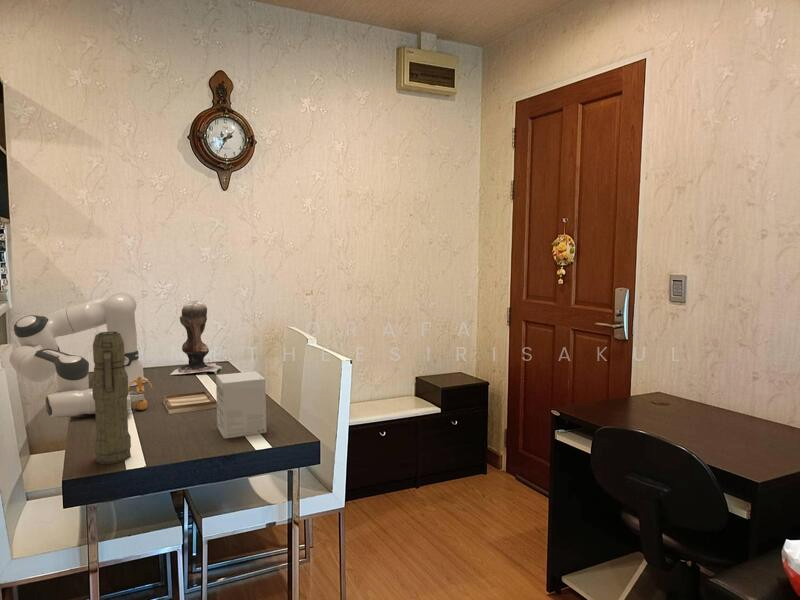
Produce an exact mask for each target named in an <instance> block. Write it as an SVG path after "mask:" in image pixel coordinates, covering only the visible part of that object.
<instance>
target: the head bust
mask: <svg viewBox="0 0 800 600" xmlns="http://www.w3.org/2000/svg"><path fill="white" fill-rule="evenodd" d="M207 314H208V308H207V306H206V304H205V303H203V302H200V301H199V300H191V301H189V302H187V303H186V304H184V305H183V306H182V309H181V315H180V316H179V321H180V325H182V326H183V327H184V328H185V332H186V335H187V336H186V337H187V338H186V341H184V343H183V344H182V347H181V350H182V352H183V353H184V354H186V356H187V358H188V363H186V364H185V365H183V366H182V365H181V366H179V367H178V368H176V369H174V370H173V371H172V372H171V373H170V374H169V376H175V375H186V374H194V373H208V372H212V373H214V374H216V375H218V374H217V373H218V371H219V370H223V366H220V365H218V364H217V363H215V362H214V363H213V362H212V363H208V362H207V363H206V362H205V358H206V355H208V354H209V352H210V350H209V348H208V345H207V344H205V343H204V342H203V341H202V334H203V333H204V331H205V328H206V323H207V321H208V317H207Z"/></svg>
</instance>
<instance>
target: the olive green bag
mask: <svg viewBox="0 0 800 600" xmlns="http://www.w3.org/2000/svg"><path fill="white" fill-rule="evenodd" d="M93 339H94V340H93V342H92V352H93V353H92V355H93V363H94V367H93V373H92V377H91V387H92V393H93V399H94V401H95V414H94V415H95V438H94V440H93V442H94V453H95V462H96V463H97V464H100V465H101V464H103V465H109V464H116V463H117V464H118V463H122V462H124V461H127V460H128V459H130V458H131V447H132V440H131V439H132V438H131V434H130V432H129V419H128V418H129V417H128V409H127V396H128V394H129V392H130V391H129V392H128V375H127V373H126V370H125V365H124V360H125V354H124V341H123V339H122V336H121V334H120V333H118V332H107V331H102V332H97V334H95V336H94V338H93Z"/></svg>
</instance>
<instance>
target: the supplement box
mask: <svg viewBox="0 0 800 600" xmlns="http://www.w3.org/2000/svg"><path fill="white" fill-rule="evenodd" d="M215 381H216V382H215V385H216V386H215V388H216V391H215V393H216V427H217V429H218V431H219V433H220V435H221V436H222V437H223V439H232V438H238V437H244V436H245V437H246V436H252V435H258V434H266V433H268V432H267V399H266V398H267V397H266V393H267V392H266V378H265V377H263V376H262V375H261V374H260V373H259V372H257V371H256V370H254V371H244V372H234V373H233V372H232V373H223V374H216V375H215Z"/></svg>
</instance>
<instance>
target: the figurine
mask: <svg viewBox="0 0 800 600" xmlns="http://www.w3.org/2000/svg"><path fill="white" fill-rule="evenodd" d="M143 381H146V382H145V383H148V384H149V386H150V388H151V389H153V388H154V387H153V385H152V383H151V382H150V381H149V379H148V380H145V379H142V378H141V377H140V376H139V377H138V378H137V379H135V380H134V381H132V382H131V383H130V384H129V387H128V391H129V390H130V387H131V386H130V385H131V384H132V383H134V382H136V383H137V385H136V386H135V390H136V391H135V392H137V395H138V394H139V392H143V393H142V394H144V395H145V386H144V385H143V384H144V383H143ZM140 390H141V391H140ZM129 392H130V391H129ZM134 406H135V408H136V409H137V410H139V411H143V410H145V409H147V407H148V401H147V399H145V398H144V399H143V400H138V401H135V405H134Z"/></svg>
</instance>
